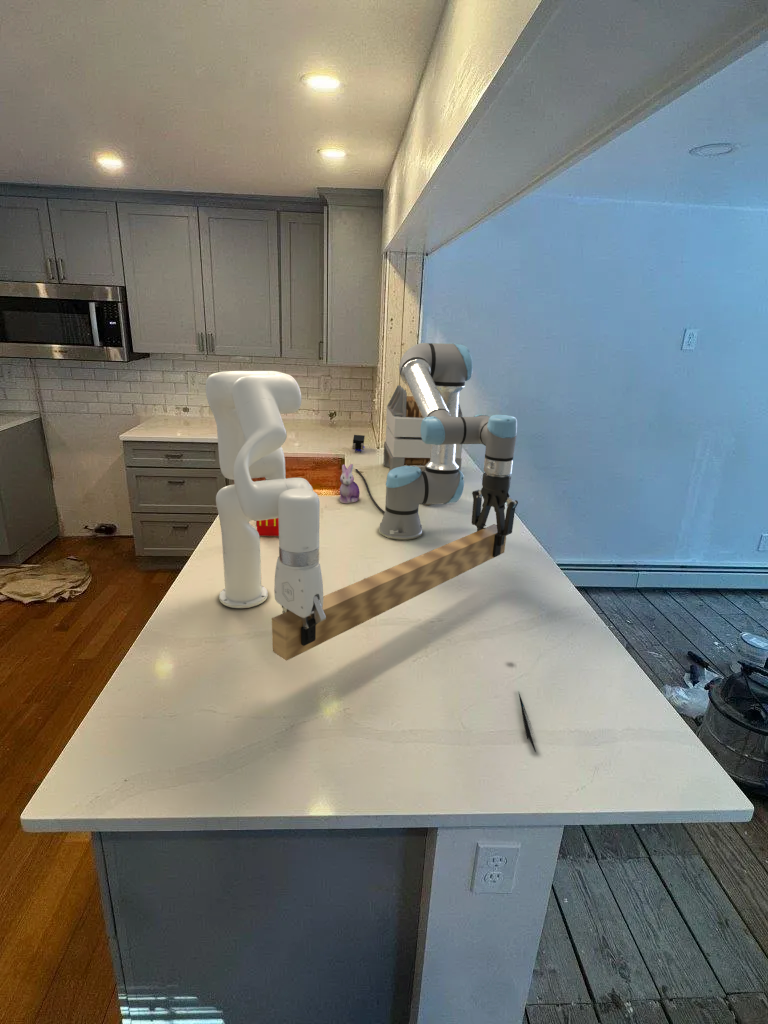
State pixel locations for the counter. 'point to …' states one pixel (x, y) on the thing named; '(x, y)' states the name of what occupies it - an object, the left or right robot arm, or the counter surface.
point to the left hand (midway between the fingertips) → (300, 636)
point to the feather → (526, 723)
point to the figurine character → (358, 442)
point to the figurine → (348, 486)
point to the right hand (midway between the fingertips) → (488, 552)
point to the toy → (268, 527)
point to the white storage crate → (407, 434)
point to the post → (384, 591)
